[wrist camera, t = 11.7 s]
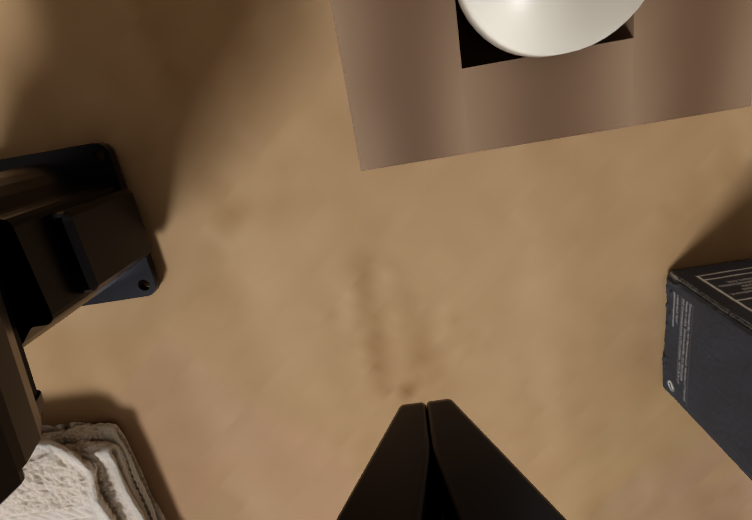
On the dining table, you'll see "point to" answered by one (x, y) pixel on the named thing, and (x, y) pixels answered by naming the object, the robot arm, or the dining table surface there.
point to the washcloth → (82, 478)
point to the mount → (532, 78)
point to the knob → (546, 23)
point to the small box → (713, 352)
